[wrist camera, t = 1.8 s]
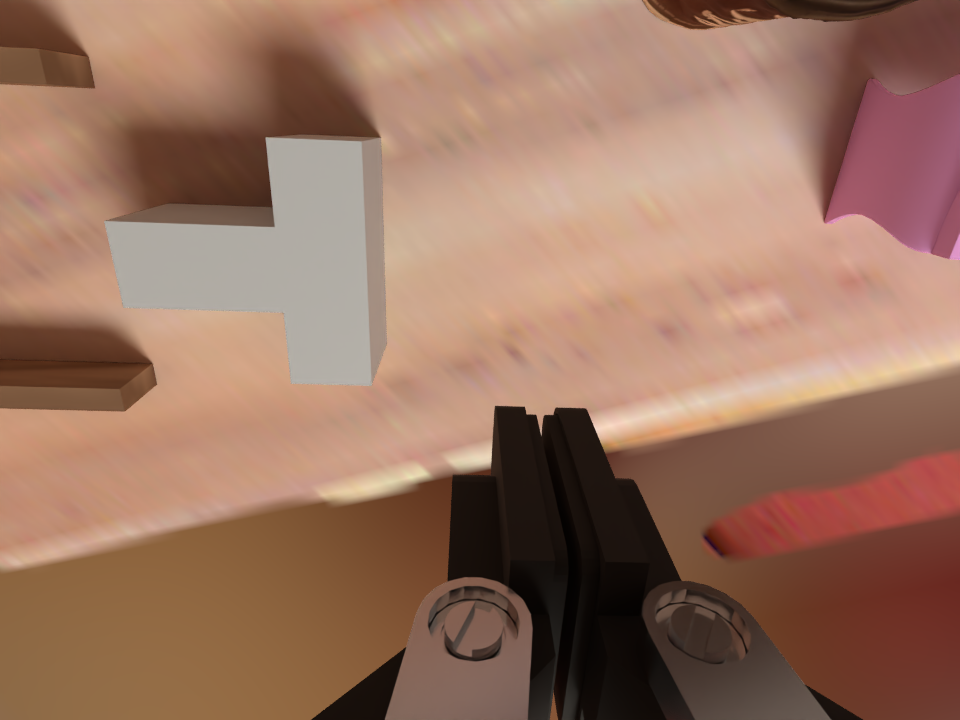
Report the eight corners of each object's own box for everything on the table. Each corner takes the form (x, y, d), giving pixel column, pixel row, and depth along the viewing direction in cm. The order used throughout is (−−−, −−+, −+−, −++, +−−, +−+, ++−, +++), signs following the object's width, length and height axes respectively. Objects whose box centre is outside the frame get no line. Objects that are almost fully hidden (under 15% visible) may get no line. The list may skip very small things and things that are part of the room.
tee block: (155, 128, 25) (83, 129, 20) (380, 137, 25) (361, 141, 21) (191, 338, 29) (139, 379, 24) (386, 343, 29) (371, 385, 25)
